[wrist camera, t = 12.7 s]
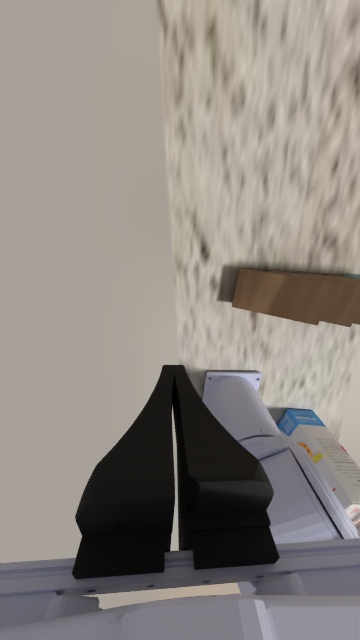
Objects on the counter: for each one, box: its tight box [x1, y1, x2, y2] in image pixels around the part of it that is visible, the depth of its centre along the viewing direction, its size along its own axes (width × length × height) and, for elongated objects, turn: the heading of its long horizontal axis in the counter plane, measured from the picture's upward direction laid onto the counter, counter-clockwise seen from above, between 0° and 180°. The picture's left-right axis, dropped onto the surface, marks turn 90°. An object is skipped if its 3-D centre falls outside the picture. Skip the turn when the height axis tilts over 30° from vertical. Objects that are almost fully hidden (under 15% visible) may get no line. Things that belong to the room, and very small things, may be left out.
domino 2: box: [270, 270, 360, 327], centre depth 18 cm, size 2×4×8 cm
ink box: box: [277, 409, 360, 537], centre depth 24 cm, size 8×5×15 cm, turn 170°
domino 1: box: [232, 268, 336, 325], centre depth 18 cm, size 2×4×8 cm
